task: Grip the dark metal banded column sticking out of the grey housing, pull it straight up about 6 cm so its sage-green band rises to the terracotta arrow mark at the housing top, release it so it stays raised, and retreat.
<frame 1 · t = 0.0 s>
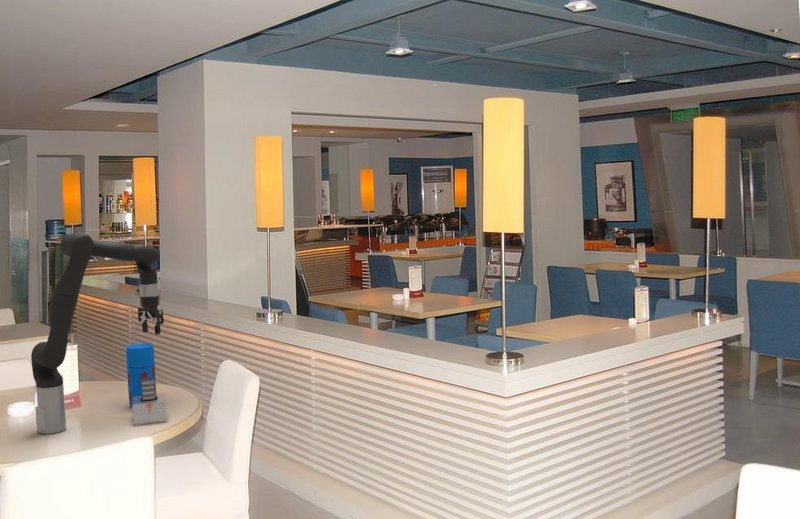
hand: (151, 333, 326), 29 cm above the table, fingers open, 8 cm apart
housing: (150, 419, 305), on the table
column: (148, 398, 304), point 8 cm above the table, slide at 0.0 cm
thermos: (143, 406, 324), on the table
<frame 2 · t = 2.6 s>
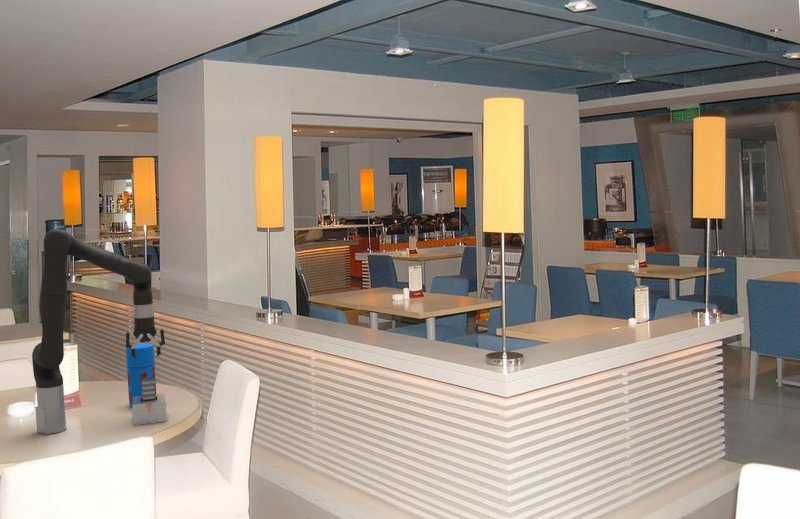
hand: (146, 357, 303), 24 cm above the table, fingers open, 8 cm apart
nothing on the table moved.
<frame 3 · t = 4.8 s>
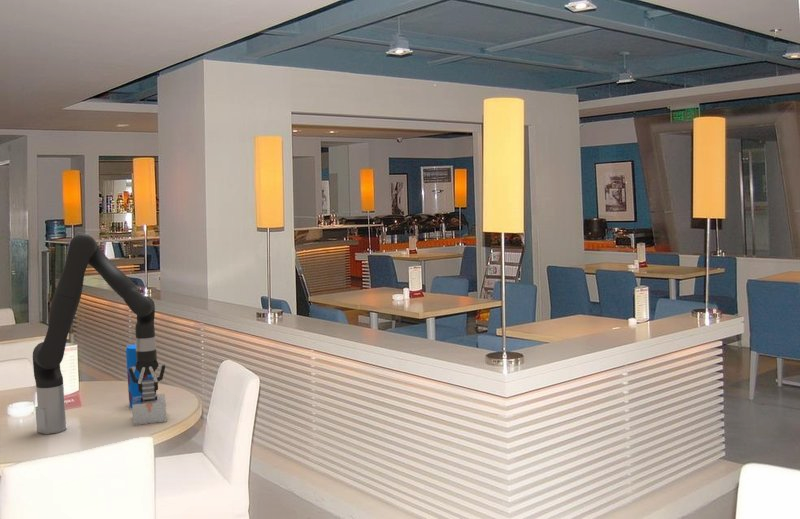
hand: (148, 391, 304), 11 cm above the table, fingers closed on column, 4 cm apart
column: (148, 398, 304), point 8 cm above the table, slide at 0.0 cm, touching gripper
everything else where it was.
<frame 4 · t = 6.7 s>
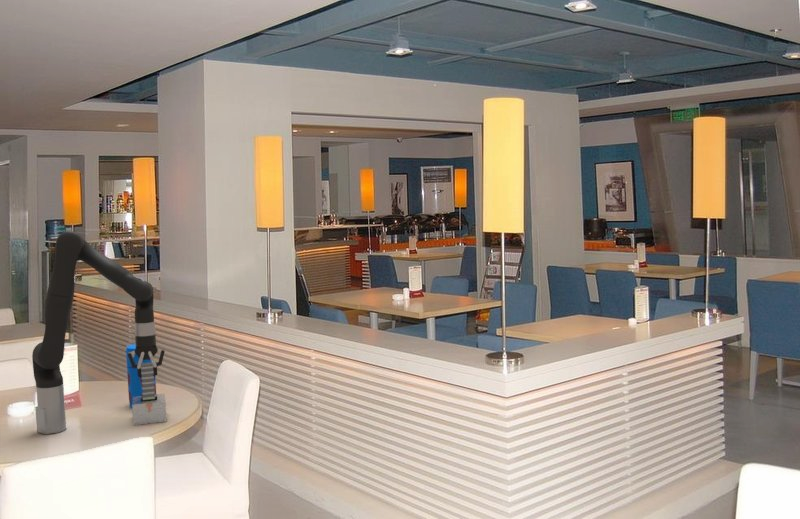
hand: (147, 376, 303), 17 cm above the table, fingers closed on column, 4 cm apart
column: (148, 384, 304), point 14 cm above the table, slide at 5.9 cm, touching gripper
everything else where it was.
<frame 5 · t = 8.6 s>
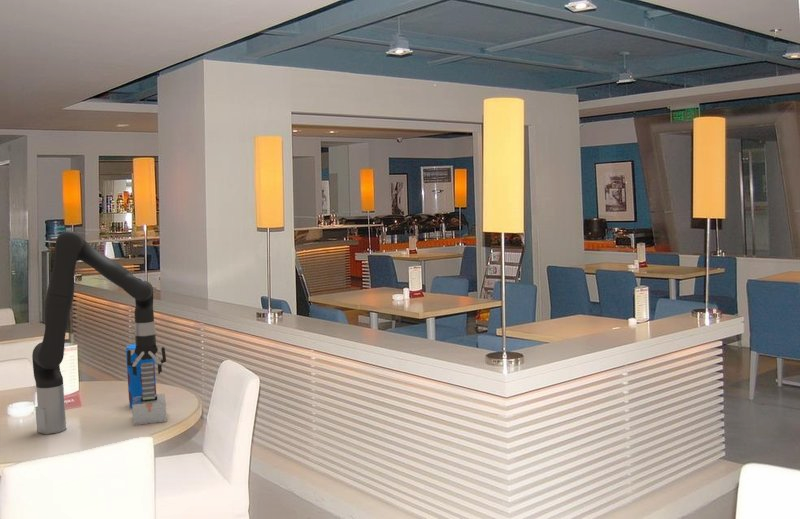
hand: (147, 374, 303), 18 cm above the table, fingers open, 8 cm apart
column: (148, 383, 304), point 14 cm above the table, slide at 5.9 cm
everything else where it was.
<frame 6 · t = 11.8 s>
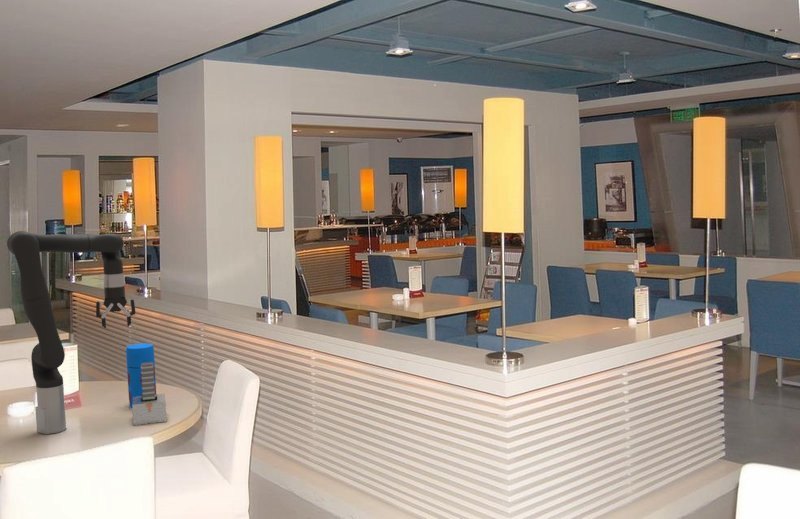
hand: (116, 326, 304), 36 cm above the table, fingers open, 8 cm apart
nothing on the table moved.
at the end: column slide at 5.9 cm; the gripper is holding nothing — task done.
